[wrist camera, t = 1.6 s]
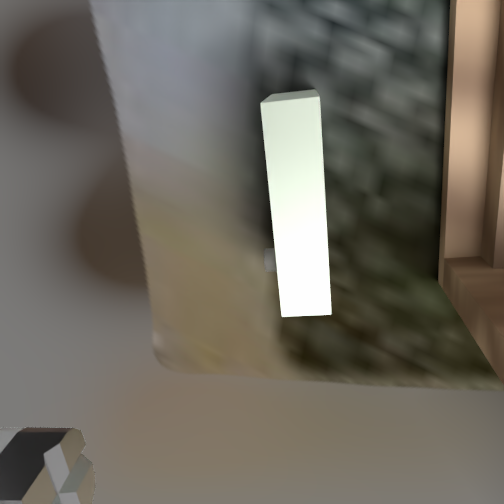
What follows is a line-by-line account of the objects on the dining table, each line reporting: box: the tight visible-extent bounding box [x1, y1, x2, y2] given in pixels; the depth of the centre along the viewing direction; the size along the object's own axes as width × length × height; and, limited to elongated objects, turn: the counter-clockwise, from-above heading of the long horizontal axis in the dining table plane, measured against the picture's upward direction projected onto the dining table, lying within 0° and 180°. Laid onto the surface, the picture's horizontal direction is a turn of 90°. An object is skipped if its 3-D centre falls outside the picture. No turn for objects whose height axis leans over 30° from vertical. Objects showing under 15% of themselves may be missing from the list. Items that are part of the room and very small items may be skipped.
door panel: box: [260, 89, 331, 317], centre depth 23 cm, size 10×3×7 cm, turn 6°
